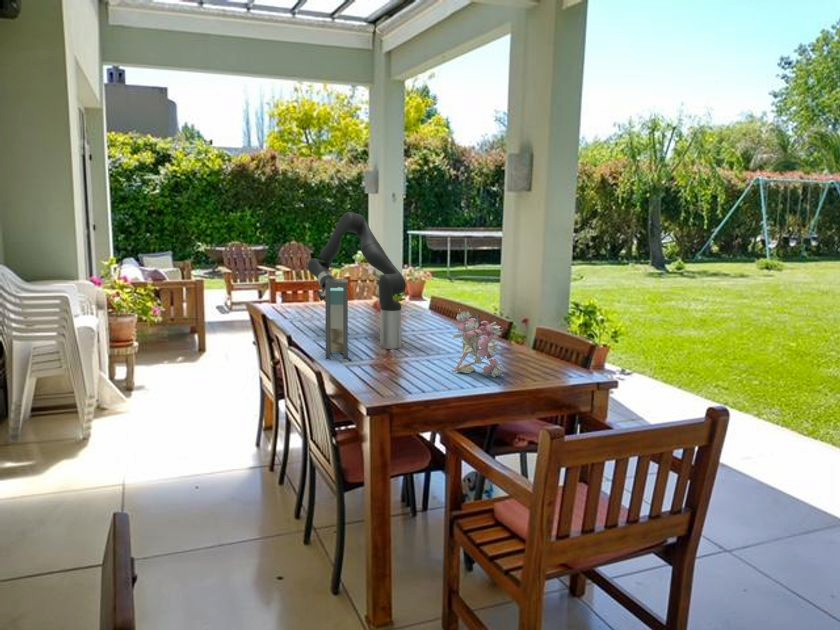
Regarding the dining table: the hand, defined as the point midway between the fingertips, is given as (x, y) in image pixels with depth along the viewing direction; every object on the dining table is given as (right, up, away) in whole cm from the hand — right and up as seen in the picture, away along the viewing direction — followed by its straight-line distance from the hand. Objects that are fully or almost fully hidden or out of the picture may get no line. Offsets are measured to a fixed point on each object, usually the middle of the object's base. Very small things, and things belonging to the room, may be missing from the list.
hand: (336, 297), depth 301 cm
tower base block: (+2, -23, -13) cm, 27 cm away
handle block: (+2, -2, -13) cm, 13 cm away
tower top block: (+2, -13, -15) cm, 20 cm away
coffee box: (+61, -24, -12) cm, 67 cm away
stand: (+4, -25, -27) cm, 37 cm away
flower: (+62, -31, -54) cm, 88 cm away
